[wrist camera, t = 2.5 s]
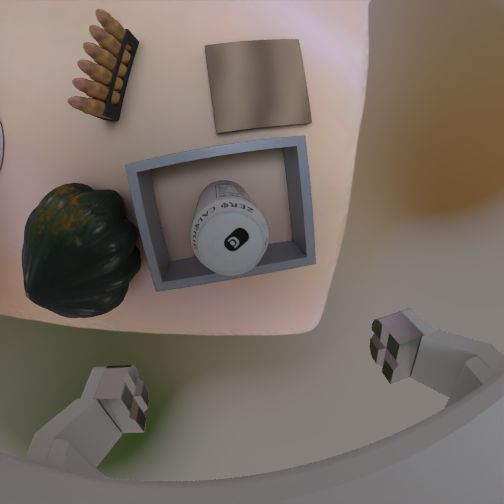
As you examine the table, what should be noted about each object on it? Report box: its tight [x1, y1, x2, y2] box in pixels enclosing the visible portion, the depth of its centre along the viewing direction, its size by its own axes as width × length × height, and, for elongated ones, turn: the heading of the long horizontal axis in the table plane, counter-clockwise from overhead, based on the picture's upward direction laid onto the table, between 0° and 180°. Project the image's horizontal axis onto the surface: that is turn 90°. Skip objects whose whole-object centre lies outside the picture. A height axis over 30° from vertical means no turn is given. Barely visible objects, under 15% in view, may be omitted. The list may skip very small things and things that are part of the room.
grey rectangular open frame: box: [126, 136, 316, 292], centre depth 31 cm, size 18×14×6 cm
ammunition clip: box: [68, 9, 139, 121], centre depth 21 cm, size 11×2×12 cm, turn 168°
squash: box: [22, 183, 141, 318], centre depth 28 cm, size 14×15×15 cm
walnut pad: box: [205, 39, 312, 134], centre depth 29 cm, size 11×11×2 cm
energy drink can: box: [190, 180, 269, 276], centre depth 27 cm, size 6×6×15 cm
